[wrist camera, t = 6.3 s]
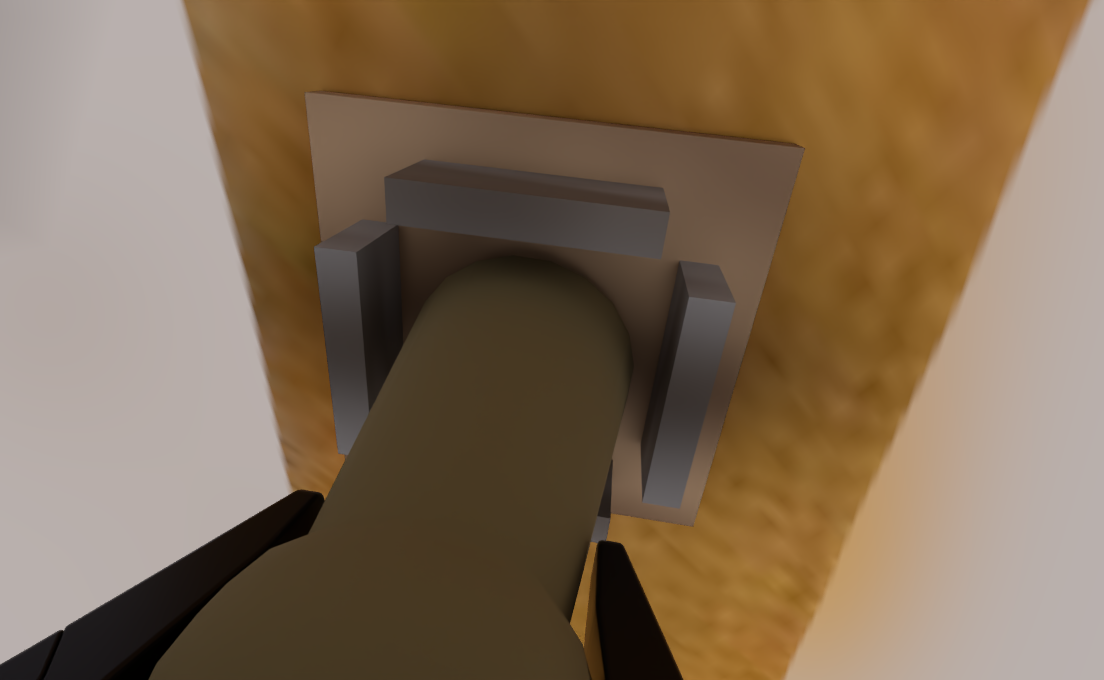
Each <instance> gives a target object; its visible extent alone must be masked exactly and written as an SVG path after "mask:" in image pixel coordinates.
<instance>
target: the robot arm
mask: <svg viewBox="0 0 1104 680" xmlns="http://www.w3.org/2000/svg"><path fill="white" fill-rule="evenodd" d="M324 502H325V500H324V497H323V495H322V494H321V493H319V492H314V491H308V490H297V491H295V492H293V493H291V494H289V495H288V496H286V497H285V498H283V499H281V500H280V501H278V502H276V503H274V504H273V505H271V506H269V507H267V508H266V509H264V510H263V511H261V512H259V513H257V514H256V515H254V516H252V517H251V518H249V519H247V520H245V521H244V522H242V523H240V524H239V525H237V526H236V527H234V528H232V529H230V530H229V531H227V532H225V533H223V534H222V535H220V536H218V537H217V538H215V539H213V540H212V541H210V542H208V543H207V544H205V545H203V546H201V547H200V548H198V549H196V550H195V551H193V552H192V553H190V554H188V555H186V556H185V557H183V558H181V559H179V560H178V561H176V562H174V563H173V564H171V565H169V566H168V567H166V568H164V569H162V570H161V571H159V572H157V573H156V574H154V575H152V576H151V577H149V578H147V579H145V580H144V581H142V582H140V583H139V584H137V585H135V586H134V587H132V588H130V589H129V590H127V591H125V592H124V593H122V594H120V595H118V596H117V597H115V598H113V599H112V600H110V601H108V602H107V603H105V604H103V605H101V606H100V607H98V608H96V609H95V610H93V611H91V612H90V613H88V614H86V615H84V616H83V617H82V618H79V619H78V620H76V621H74V622H73V623H71V624H69V625H68V626H67V627H66V628H65V630H64V631H63V630H59V631H57V632H55V633H54V634H52V635H50V636H49V637H47V638H45V639H44V640H42V641H40V642H38V643H37V644H35V645H33V646H32V647H30V648H28V649H26V650H25V651H23V652H21V653H19V654H18V655H16V656H14V657H12V658H11V659H9V660H7V661H5V662H4V663H2V664H0V680H148V679H149V677H150V675H151V673H152V671H153V670H154V668H155V666H156V664H157V662H158V661H159V660H160V659H161V657H162V656H163V655H164V654H165V652H166V651H167V650H168V649H169V648H170V646H171V645H172V644H173V643H174V642H175V640H176V639H177V638H178V637H179V635H180V634H181V633H182V632H183V631H184V629H185V628H186V627H187V626H188V624H189V623H190V622H191V621H192V620H193V618H194V617H195V616H196V615H197V614H198V613H199V612H200V610H201V609H202V608H203V607H204V606H205V605H206V604H207V603H208V602H209V601H210V600H211V599H212V598H213V597H214V596H215V595H216V594H217V593H218V592H219V591H220V590H221V589H222V588H223V587H224V586H225V585H226V584H227V583H228V582H229V581H231V580H232V579H233V578H234V577H236V576H237V575H238V574H239V573H240V572H242V571H243V570H244V569H245V568H247V567H248V566H249V565H250V564H252V563H253V562H254V561H255V560H257V559H258V558H259V557H260V556H262V555H263V554H264V553H265V552H267V551H268V550H269V549H271V548H274V547H276V546H279V545H281V544H284V543H287V542H289V541H292V540H295V539H297V538H300V537H303V536H305V535H308V533H309V531H310V529H311V528H312V526H313V524H314V522H315V520H316V518H317V516H318V514H319V512H320V510H321V508H322V506H323V504H324ZM584 652H585V656H586V660H587V663H588V667H589V671H590V675H591V678H592V680H683V678H682V675H681V673H680V671H679V669H678V666H677V664H676V662H675V660H674V657H673V655H672V653H671V651H670V648H669V646H668V644H667V642H666V640H665V637H664V635H663V633H662V631H661V628H660V626H659V624H658V622H657V619H656V617H655V615H654V613H653V610H652V608H651V606H650V604H649V601H648V599H647V597H646V595H645V593H644V590H643V588H642V586H641V584H640V581H639V579H638V577H637V575H636V572H635V570H634V568H633V566H632V563H631V561H630V559H629V557H628V554H627V552H626V550H625V548H624V546H623V545H622V544H621V543H617V542H611V541H605V540H600V541H599V542H598V544H597V548H596V553H595V559H594V564H593V570H592V575H591V583H590V592H589V602H588V612H587V622H586V632H585V642H584Z"/></svg>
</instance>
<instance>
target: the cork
mask: <svg viewBox="0 0 1104 680" xmlns="http://www.w3.org/2000/svg"><path fill="white" fill-rule="evenodd" d="M633 369H634V362H633V355H632V349H631V342H630V336H629V332H628V331H627V329H626V327H625V325H624V323H623V321H622V320H621V318H620V316H619V314H618V312H617V310H616V308H615V307H614V305H613V303H612V302H611V301H610V300H609V299H608V298H607V297H606V296H604V295H603V294H602V293H601V292H600V291H599V290H598V289H597V288H596V287H595V286H594V285H593V284H592V283H591V282H590V281H588V280H587V279H586V278H585V277H583V276H581V275H579V274H577V273H575V272H573V271H571V270H568V269H566V268H564V267H562V266H560V265H558V264H556V263H554V262H552V261H547V260H541V259H534V258H528V257H521V256H515V255H512V256H505V257H499V258H493V259H486V260H480V261H476V262H474V263H472V264H470V265H469V266H467V267H465V268H463V269H461V270H459V271H457V272H455V273H453V274H452V275H450V276H448V277H446V278H445V280H444V281H443V282H442V283H441V284H440V285H439V286H438V287H437V289H436V290H435V291H434V292H433V293H432V294H431V295H430V296H429V298H428V299H427V300H426V301H425V303H424V305H423V307H422V309H421V311H420V313H419V315H418V317H417V319H416V321H415V323H414V325H413V327H412V329H411V331H410V333H409V335H408V337H407V339H406V341H405V343H404V345H403V347H402V349H401V351H400V353H399V355H398V357H397V359H396V360H395V362H394V364H393V366H392V368H391V370H390V372H389V374H388V376H387V378H386V380H385V382H384V384H383V386H382V388H381V390H380V392H379V394H378V396H377V398H376V400H375V402H374V404H373V406H372V408H371V410H370V412H369V414H368V416H367V418H366V420H365V422H364V424H363V426H362V428H361V430H360V432H359V434H358V436H357V438H356V440H355V442H354V444H353V446H352V448H351V450H350V452H349V454H348V456H347V458H346V460H345V462H344V464H343V466H342V468H341V470H340V472H339V474H338V476H337V478H336V480H335V482H334V484H333V486H332V488H331V490H330V492H329V494H328V496H327V498H326V500H325V502H324V504H323V506H322V508H321V510H320V512H319V514H318V516H317V518H316V520H315V522H314V524H313V526H312V528H311V529H310V531H309V533H308V535H305V536H303V537H300V538H297V539H295V540H292V541H289V542H287V543H284V544H281V545H279V546H276V547H274V548H271V549H269V550H268V551H267V552H265V553H264V554H263V555H262V556H260V557H259V558H258V559H257V560H255V561H254V562H253V563H252V564H250V565H249V566H248V567H247V568H245V569H244V570H243V571H242V572H240V573H239V574H238V575H237V576H236V577H234V578H233V579H232V580H231V581H229V582H228V583H227V584H226V585H225V586H224V587H223V588H222V589H221V590H220V591H219V592H218V593H217V594H216V595H215V596H214V597H213V598H212V599H211V600H210V601H209V602H208V603H207V604H206V605H205V606H204V607H203V608H202V609H201V610H200V612H199V613H198V614H197V615H196V616H195V617H194V618H193V620H192V621H191V622H190V623H189V624H188V626H187V627H186V628H185V629H184V631H183V632H182V633H181V634H180V635H179V637H178V638H177V639H176V640H175V642H174V643H173V644H172V645H171V646H170V648H169V649H168V650H167V651H166V652H165V654H164V655H163V656H162V657H161V659H160V660H159V661H158V662H157V664H156V666H155V668H154V670H153V671H152V673H151V675H150V677H149V679H148V680H592V678H591V675H590V671H589V667H588V663H587V660H586V656H585V652H584V648H583V644H582V643H581V641H580V639H579V638H578V636H577V635H576V633H575V632H574V630H573V628H572V627H571V625H570V621H571V617H572V613H573V609H574V605H575V602H576V598H577V594H578V590H579V586H580V582H581V578H582V574H583V570H584V566H585V562H586V558H587V554H588V550H589V546H590V542H591V538H592V534H593V531H594V527H595V523H596V519H597V515H598V511H599V507H600V503H601V499H602V495H603V491H604V487H605V483H606V479H607V475H608V471H609V467H610V464H611V460H612V456H613V452H614V448H615V444H616V440H617V436H618V432H619V428H620V424H621V420H622V416H623V412H624V408H625V404H626V400H627V396H628V392H629V387H630V383H631V378H632V373H633Z"/></svg>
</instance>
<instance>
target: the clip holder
mask: <svg viewBox="0 0 1104 680" xmlns="http://www.w3.org/2000/svg"><path fill="white" fill-rule="evenodd" d="M305 101H306V110H307V119H308V128H309V137H310V146H311V155H312V164H313V173H314V182H315V191H316V200H317V209H318V218H319V227H320V236H321V243H320V244H318V245H316V246H314V251H315V260H316V268H317V277H318V285H319V294H320V302H321V311H322V319H323V328H324V336H325V345H326V353H327V362H328V370H329V379H330V387H331V396H332V404H333V413H334V421H335V430H336V438H337V447H338V453H339V454H345V460H346V458H347V456H348V454H349V452H350V450H351V448H352V446H353V444H354V442H355V440H356V438H357V436H358V434H359V432H360V430H361V428H362V426H363V424H364V422H365V420H366V418H367V416H368V414H369V412H370V410H371V408H372V406H373V404H374V402H375V400H376V398H377V396H378V394H379V392H380V390H381V388H382V386H383V384H384V382H385V380H386V378H387V376H388V374H389V372H390V370H391V368H392V366H393V364H394V362H395V360H396V359H397V357H398V355H399V353H400V351H401V349H402V347H403V345H404V343H405V341H406V339H407V337H408V335H409V333H410V331H411V329H412V327H413V325H414V323H415V321H416V319H417V317H418V315H419V313H420V311H421V309H422V307H423V305H424V303H425V301H426V300H427V299H428V298H429V296H430V295H431V294H432V293H433V292H434V291H435V290H436V289H437V287H438V286H439V285H440V284H441V283H442V282H443V281H444V280H445V278H446V277H448V276H450V275H452V274H453V273H455V272H457V271H459V270H461V269H463V268H465V267H467V266H469V265H470V264H472V263H474V262H476V261H480V260H486V259H493V258H499V257H505V256H512V255H515V256H521V257H528V258H534V259H541V260H547V261H552V262H554V263H556V264H558V265H560V266H562V267H564V268H566V269H568V270H571V271H573V272H575V273H577V274H579V275H581V276H583V277H585V278H586V279H587V280H588V281H590V282H591V283H592V284H593V285H594V286H595V287H596V288H597V289H598V290H599V291H600V292H601V293H602V294H603V295H604V296H606V297H607V298H608V299H609V300H610V301H611V302H612V303H613V305H614V307H615V308H616V310H617V312H618V314H619V316H620V318H621V320H622V321H623V323H624V325H625V327H626V329H627V331H628V332H629V336H630V342H631V349H632V355H633V362H634V369H633V373H632V378H631V383H630V387H629V392H628V396H627V400H626V404H625V408H624V412H623V416H622V420H621V424H620V428H619V432H618V436H617V440H616V444H615V448H614V452H613V456H612V460H611V464H610V467H609V471H608V475H607V479H606V483H605V487H604V491H603V495H602V499H601V503H600V507H599V511H598V515H597V519H596V523H595V527H594V531H593V534H592V538H591V542H596V543H598V542H599V541H600V540H605V541H606V539H607V534H608V528H609V523H610V517H611V513H613V514H619V515H625V516H631V517H637V518H643V519H649V520H656V521H662V522H668V523H674V524H680V525H686V526H692V527H693V525H694V522H695V518H696V515H697V512H698V508H699V505H700V501H701V498H702V495H703V491H704V488H705V485H706V481H707V478H708V474H709V471H710V468H711V464H712V461H713V458H714V454H715V451H716V447H717V444H718V441H719V437H720V434H721V430H722V427H723V424H724V420H725V417H726V414H727V410H728V407H729V403H730V400H731V397H732V393H733V390H734V387H735V383H736V380H737V376H738V373H739V370H740V366H741V363H742V359H743V356H744V353H745V349H746V346H747V343H748V339H749V336H750V332H751V329H752V326H753V322H754V319H755V315H756V312H757V309H758V305H759V302H760V299H761V295H762V292H763V288H764V285H765V282H766V278H767V275H768V272H769V268H770V265H771V261H772V258H773V255H774V251H775V248H776V244H777V241H778V238H779V234H780V231H781V228H782V224H783V221H784V217H785V214H786V211H787V207H788V204H789V200H790V197H791V194H792V190H793V187H794V184H795V180H796V177H797V173H798V170H799V167H800V163H801V160H802V157H803V153H804V150H805V148H803V147H801V146H799V145H797V144H792V143H783V142H774V141H765V140H756V139H747V138H738V137H729V136H720V135H711V134H702V133H693V132H684V131H675V130H666V129H658V128H649V127H640V126H631V125H622V124H613V123H604V122H595V121H586V120H577V119H568V118H559V117H550V116H541V115H532V114H523V113H514V112H505V111H496V110H488V109H479V108H470V107H461V106H452V105H443V104H434V103H425V102H416V101H407V100H398V99H389V98H380V97H371V96H362V95H353V94H344V93H335V92H326V91H313V92H305Z"/></svg>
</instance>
